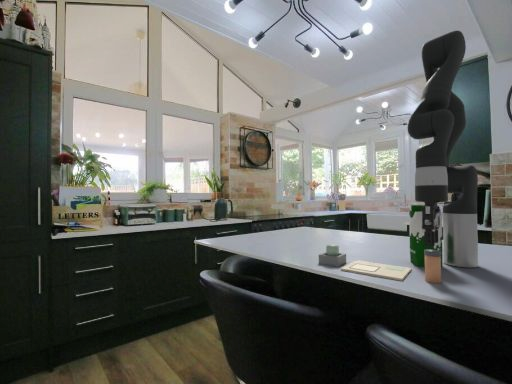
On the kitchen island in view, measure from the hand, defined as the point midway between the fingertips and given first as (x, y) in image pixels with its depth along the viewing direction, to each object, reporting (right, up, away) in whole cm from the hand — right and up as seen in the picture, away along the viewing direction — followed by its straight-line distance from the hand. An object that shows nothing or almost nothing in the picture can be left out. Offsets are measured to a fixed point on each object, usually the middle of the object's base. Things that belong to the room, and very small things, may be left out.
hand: (431, 244), depth 72 cm
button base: (-21, -11, +21) cm, 31 cm away
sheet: (-10, -10, +11) cm, 18 cm away
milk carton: (+10, -11, +18) cm, 23 cm away
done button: (-21, -9, +21) cm, 31 cm away
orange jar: (0, -10, 0) cm, 10 cm away
